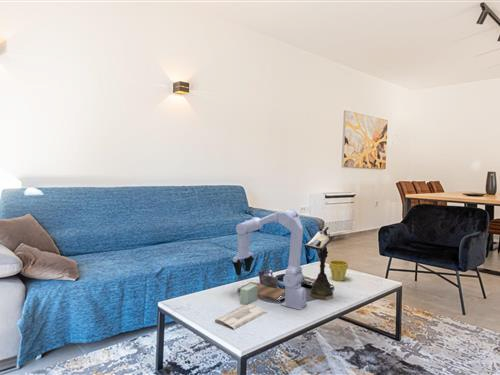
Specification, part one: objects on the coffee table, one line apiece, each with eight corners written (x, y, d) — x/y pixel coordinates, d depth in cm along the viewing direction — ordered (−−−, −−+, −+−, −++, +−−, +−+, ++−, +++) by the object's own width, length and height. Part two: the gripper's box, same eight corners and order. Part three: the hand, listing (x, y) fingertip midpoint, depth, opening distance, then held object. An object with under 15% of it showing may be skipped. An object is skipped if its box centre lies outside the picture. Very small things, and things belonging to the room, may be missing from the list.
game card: (259, 272, 194) (272, 269, 199) (254, 272, 198) (266, 270, 203) (261, 284, 192) (274, 281, 198) (256, 285, 196) (269, 282, 202)
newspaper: (245, 306, 166) (245, 301, 166) (266, 316, 158) (267, 311, 158) (210, 322, 148) (210, 316, 148) (231, 334, 141) (232, 328, 140)
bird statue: (316, 305, 167) (319, 230, 164) (297, 296, 178) (299, 226, 175) (340, 298, 176) (343, 227, 174) (321, 289, 187) (324, 223, 184)
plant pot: (325, 277, 208) (325, 260, 207) (341, 275, 211) (341, 259, 210) (334, 282, 198) (335, 265, 198) (350, 281, 201) (351, 264, 201)
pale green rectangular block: (257, 299, 173) (257, 284, 173) (247, 305, 166) (247, 290, 165) (250, 297, 175) (250, 283, 175) (240, 303, 168) (240, 288, 167)
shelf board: (288, 293, 182) (288, 279, 181) (276, 301, 171) (276, 286, 170) (251, 284, 193) (251, 271, 193) (237, 291, 182) (238, 278, 182)
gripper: (245, 242, 188) (245, 268, 189) (228, 247, 176) (227, 274, 177) (256, 244, 184) (256, 270, 185) (239, 250, 172) (238, 277, 173)
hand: (243, 273), depth 180 cm, fingers open, 7 cm apart
